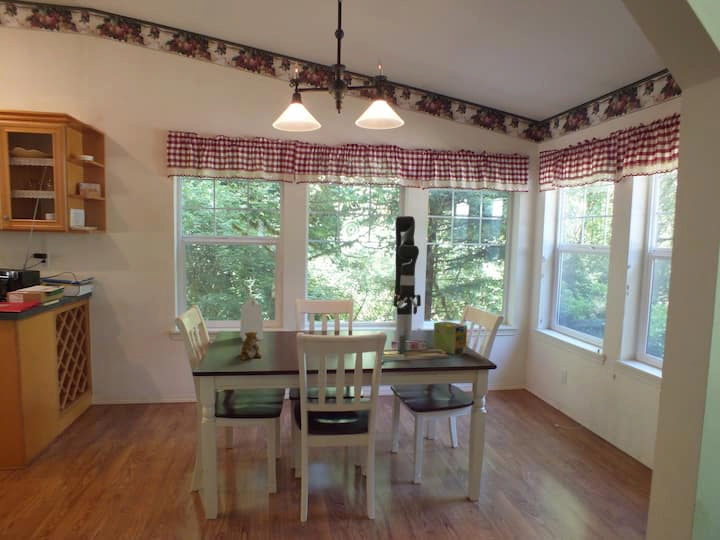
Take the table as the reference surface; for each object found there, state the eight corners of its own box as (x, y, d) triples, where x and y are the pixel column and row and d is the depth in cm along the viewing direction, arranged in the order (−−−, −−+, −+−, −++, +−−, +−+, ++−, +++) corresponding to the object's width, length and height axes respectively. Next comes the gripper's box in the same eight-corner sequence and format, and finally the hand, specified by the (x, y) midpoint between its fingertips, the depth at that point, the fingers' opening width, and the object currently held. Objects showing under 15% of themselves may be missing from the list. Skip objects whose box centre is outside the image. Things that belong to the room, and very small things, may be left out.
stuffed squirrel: (242, 361, 222) (242, 335, 221) (236, 353, 234) (236, 329, 233) (262, 358, 226) (262, 333, 225) (255, 351, 239) (255, 327, 238)
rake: (396, 354, 235) (397, 334, 234) (402, 354, 235) (402, 333, 234) (400, 357, 229) (401, 336, 228) (405, 357, 230) (406, 336, 229)
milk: (240, 337, 270) (239, 294, 268) (259, 335, 275) (259, 294, 273) (243, 341, 260) (243, 297, 257) (263, 340, 264) (263, 296, 262)
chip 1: (382, 357, 232) (382, 351, 232) (390, 357, 233) (390, 351, 232) (384, 359, 228) (385, 354, 228) (392, 359, 229) (392, 353, 229)
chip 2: (390, 357, 233) (390, 351, 233) (397, 356, 234) (397, 351, 234) (392, 359, 229) (392, 353, 229) (399, 358, 230) (399, 353, 230)
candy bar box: (427, 340, 244) (403, 342, 235) (427, 349, 243) (403, 351, 235) (414, 339, 253) (390, 341, 245) (414, 348, 253) (391, 350, 244)
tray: (374, 356, 235) (374, 349, 235) (397, 355, 238) (397, 348, 238) (380, 362, 223) (380, 356, 223) (404, 361, 226) (404, 354, 226)
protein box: (454, 356, 238) (455, 327, 237) (432, 350, 250) (433, 322, 249) (466, 353, 245) (467, 325, 244) (444, 347, 257) (445, 320, 256)
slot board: (396, 354, 238) (396, 349, 238) (438, 352, 244) (438, 347, 244) (404, 361, 226) (404, 356, 226) (448, 359, 231) (448, 354, 231)
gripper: (418, 282, 236) (417, 312, 238) (392, 282, 233) (391, 313, 235) (423, 284, 229) (422, 315, 230) (396, 284, 226) (395, 316, 227)
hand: (406, 314), depth 233 cm, fingers open, 8 cm apart
